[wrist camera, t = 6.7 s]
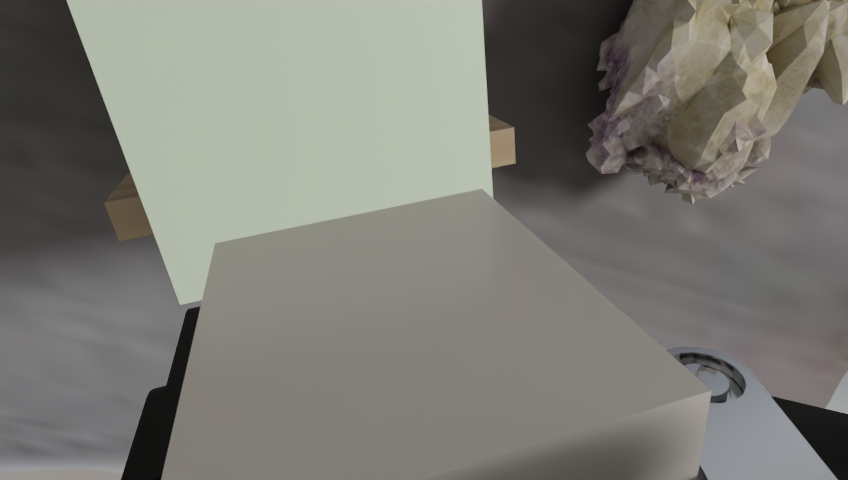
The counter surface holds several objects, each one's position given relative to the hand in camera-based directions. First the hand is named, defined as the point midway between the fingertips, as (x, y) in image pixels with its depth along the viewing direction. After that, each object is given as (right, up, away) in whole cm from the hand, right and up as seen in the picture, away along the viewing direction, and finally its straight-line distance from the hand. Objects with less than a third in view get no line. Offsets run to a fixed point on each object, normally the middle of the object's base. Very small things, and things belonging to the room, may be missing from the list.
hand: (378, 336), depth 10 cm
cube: (0, 0, 0) cm, 0 cm away
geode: (+16, +13, +19) cm, 28 cm away
